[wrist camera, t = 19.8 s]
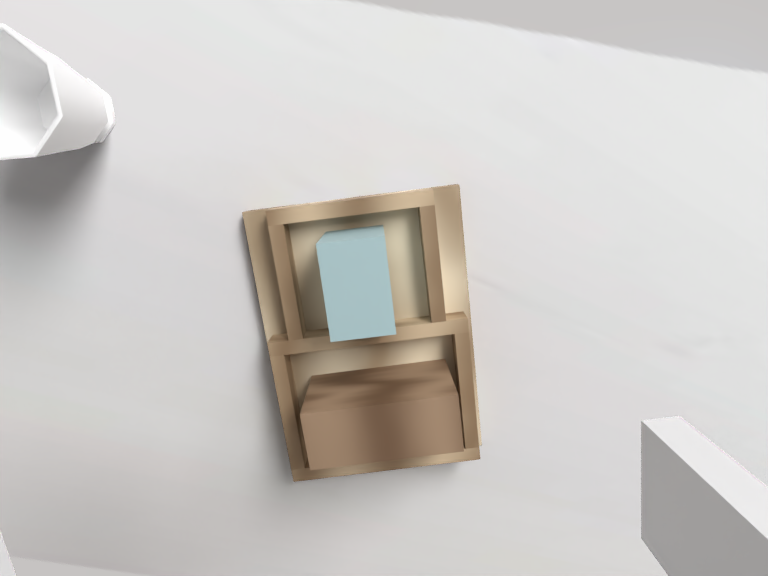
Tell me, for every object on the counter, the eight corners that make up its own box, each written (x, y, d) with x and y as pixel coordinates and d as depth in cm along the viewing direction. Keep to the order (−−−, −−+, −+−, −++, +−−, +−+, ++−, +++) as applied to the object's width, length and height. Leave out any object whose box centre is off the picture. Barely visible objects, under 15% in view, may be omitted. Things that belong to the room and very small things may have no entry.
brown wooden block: (320, 423, 37) (310, 470, 32) (311, 375, 37) (299, 414, 31) (450, 407, 37) (464, 451, 32) (444, 358, 36) (458, 394, 31)
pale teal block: (338, 313, 35) (330, 342, 30) (325, 231, 34) (315, 244, 28) (392, 307, 35) (396, 334, 30) (382, 224, 34) (384, 236, 28)
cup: (125, 179, 34) (51, 181, 26) (-22, 133, 33) (-144, 122, 25) (145, 76, 33) (73, 46, 25) (-8, 25, 32) (-134, -22, 24)
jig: (293, 459, 39) (287, 482, 37) (246, 211, 35) (234, 214, 32) (478, 437, 39) (486, 458, 36) (456, 184, 35) (463, 185, 32)
